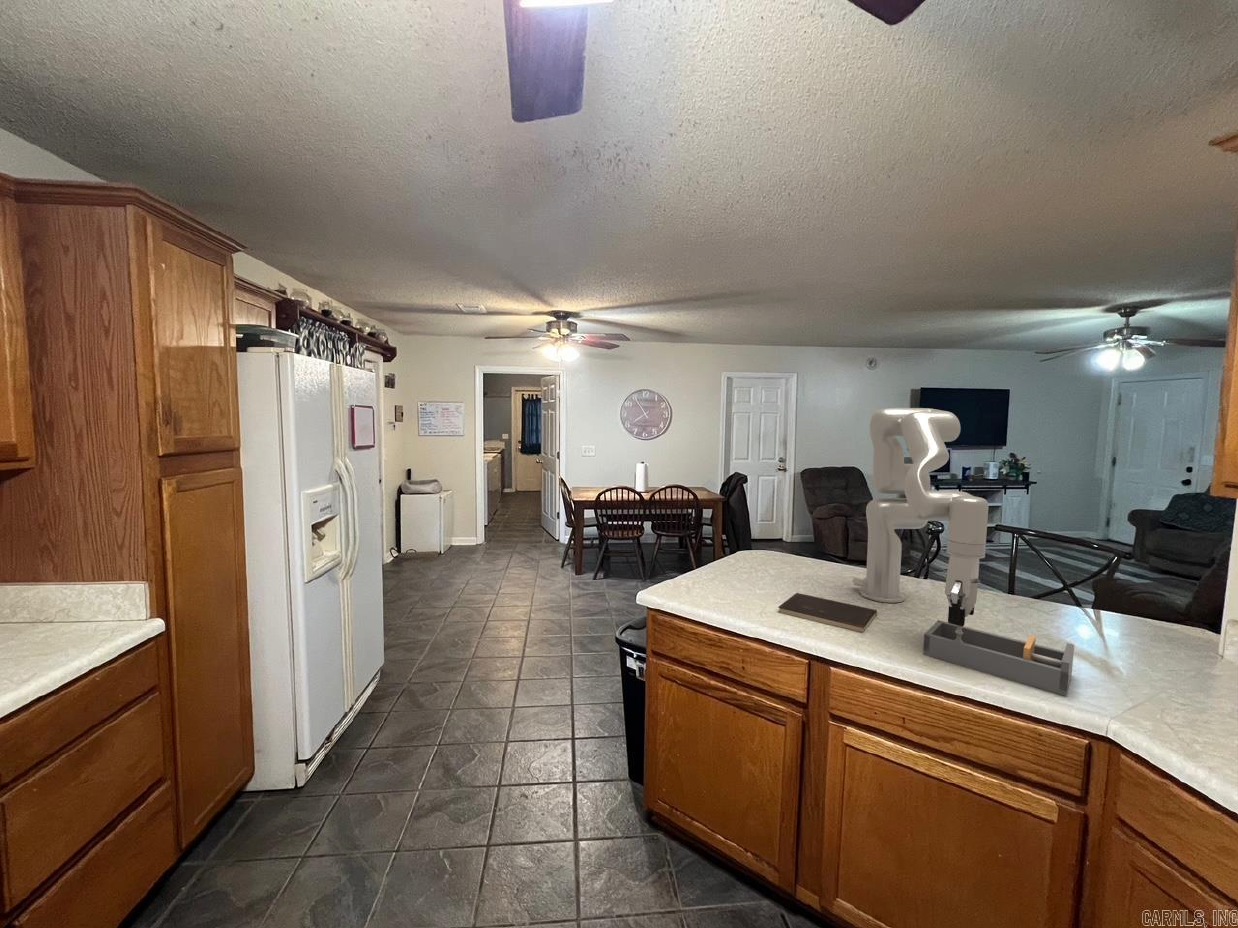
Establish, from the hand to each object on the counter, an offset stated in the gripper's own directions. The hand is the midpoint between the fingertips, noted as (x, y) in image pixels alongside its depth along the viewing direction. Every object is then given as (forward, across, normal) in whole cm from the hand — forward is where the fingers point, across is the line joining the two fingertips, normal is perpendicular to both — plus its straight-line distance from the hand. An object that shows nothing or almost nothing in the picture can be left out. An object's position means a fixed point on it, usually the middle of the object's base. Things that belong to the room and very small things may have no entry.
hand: (960, 618), depth 122 cm
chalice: (+8, +1, 0) cm, 8 cm away
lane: (+9, 0, +7) cm, 11 cm away
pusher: (+8, 0, +16) cm, 17 cm away
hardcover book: (+10, -3, -33) cm, 34 cm away
